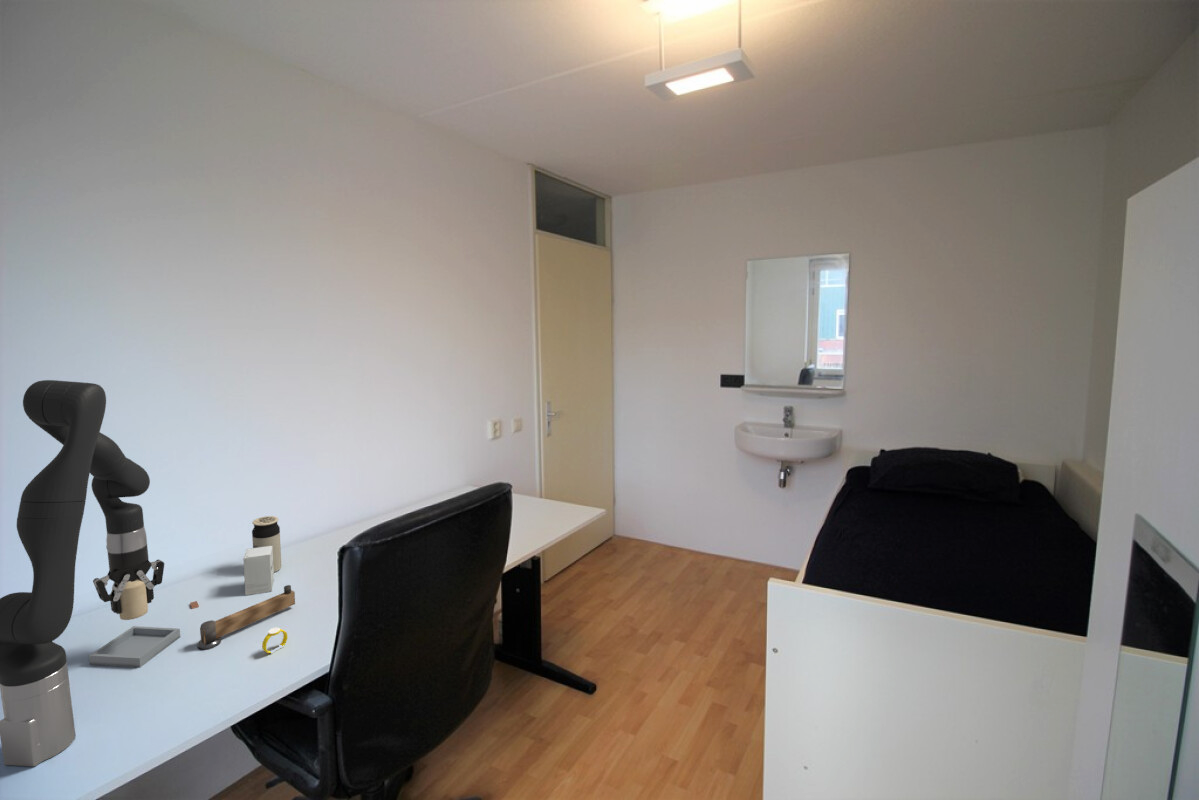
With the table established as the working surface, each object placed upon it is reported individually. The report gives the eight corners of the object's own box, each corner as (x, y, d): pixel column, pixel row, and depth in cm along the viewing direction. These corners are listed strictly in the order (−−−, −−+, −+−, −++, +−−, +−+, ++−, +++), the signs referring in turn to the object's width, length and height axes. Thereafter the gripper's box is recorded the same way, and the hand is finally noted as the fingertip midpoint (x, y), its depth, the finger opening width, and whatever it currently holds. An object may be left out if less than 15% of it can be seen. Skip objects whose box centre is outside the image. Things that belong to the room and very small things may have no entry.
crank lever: (205, 644, 140) (203, 624, 139) (199, 640, 142) (197, 619, 141) (296, 604, 161) (295, 586, 160) (290, 601, 162) (289, 583, 161)
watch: (267, 658, 139) (265, 638, 137) (261, 655, 140) (258, 635, 139) (290, 645, 144) (287, 626, 142) (284, 642, 145) (281, 622, 144)
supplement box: (272, 591, 170) (270, 554, 168) (244, 596, 166) (242, 558, 164) (274, 580, 176) (273, 545, 174) (248, 584, 173) (246, 548, 171)
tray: (140, 667, 132) (139, 658, 132) (90, 664, 133) (89, 655, 132) (180, 637, 145) (179, 628, 145) (134, 634, 145) (133, 626, 145)
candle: (131, 621, 134) (127, 585, 132) (113, 618, 135) (110, 581, 133) (153, 610, 139) (150, 574, 138) (136, 606, 140) (133, 571, 139)
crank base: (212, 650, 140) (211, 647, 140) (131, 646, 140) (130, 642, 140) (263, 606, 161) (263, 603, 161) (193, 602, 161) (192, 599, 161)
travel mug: (276, 562, 189) (273, 513, 186) (285, 569, 184) (283, 520, 181) (250, 569, 183) (247, 519, 180) (259, 577, 178) (256, 526, 175)
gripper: (95, 560, 126) (102, 625, 129) (168, 539, 138) (173, 599, 141) (83, 551, 130) (91, 615, 133) (155, 532, 142) (161, 591, 145)
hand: (133, 607), depth 137 cm, fingers closed on candle, 5 cm apart
